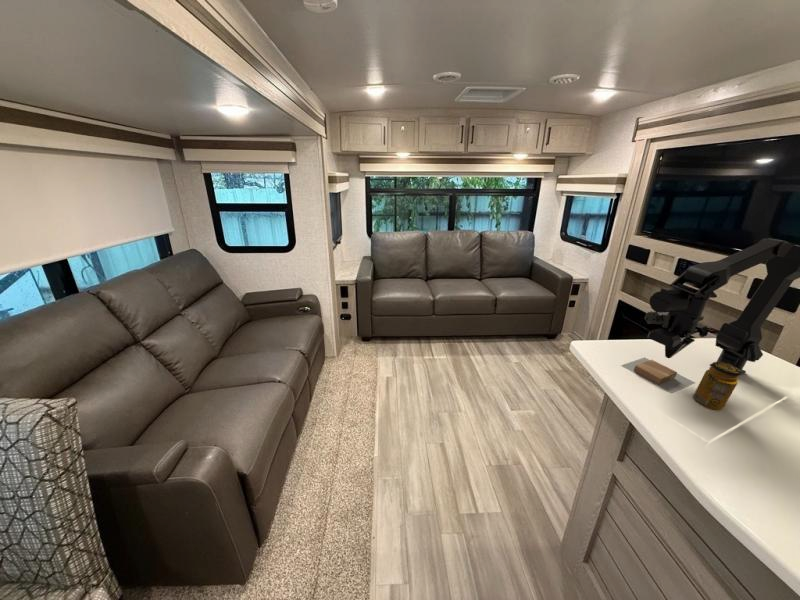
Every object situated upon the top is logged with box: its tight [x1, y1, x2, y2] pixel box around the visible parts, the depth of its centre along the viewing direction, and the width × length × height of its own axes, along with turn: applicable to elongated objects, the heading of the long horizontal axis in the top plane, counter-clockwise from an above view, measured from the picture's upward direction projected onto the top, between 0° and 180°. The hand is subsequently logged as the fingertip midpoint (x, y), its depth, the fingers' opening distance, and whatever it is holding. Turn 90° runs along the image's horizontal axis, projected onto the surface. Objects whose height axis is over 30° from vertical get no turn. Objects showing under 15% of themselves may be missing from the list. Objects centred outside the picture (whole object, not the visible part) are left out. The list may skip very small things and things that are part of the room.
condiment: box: [692, 361, 741, 411], centre depth 80 cm, size 7×8×12 cm
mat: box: [620, 357, 696, 394], centre depth 93 cm, size 12×14×1 cm
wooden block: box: [634, 359, 678, 384], centre depth 92 cm, size 2×7×8 cm
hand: (667, 357), depth 92 cm, fingers closed
